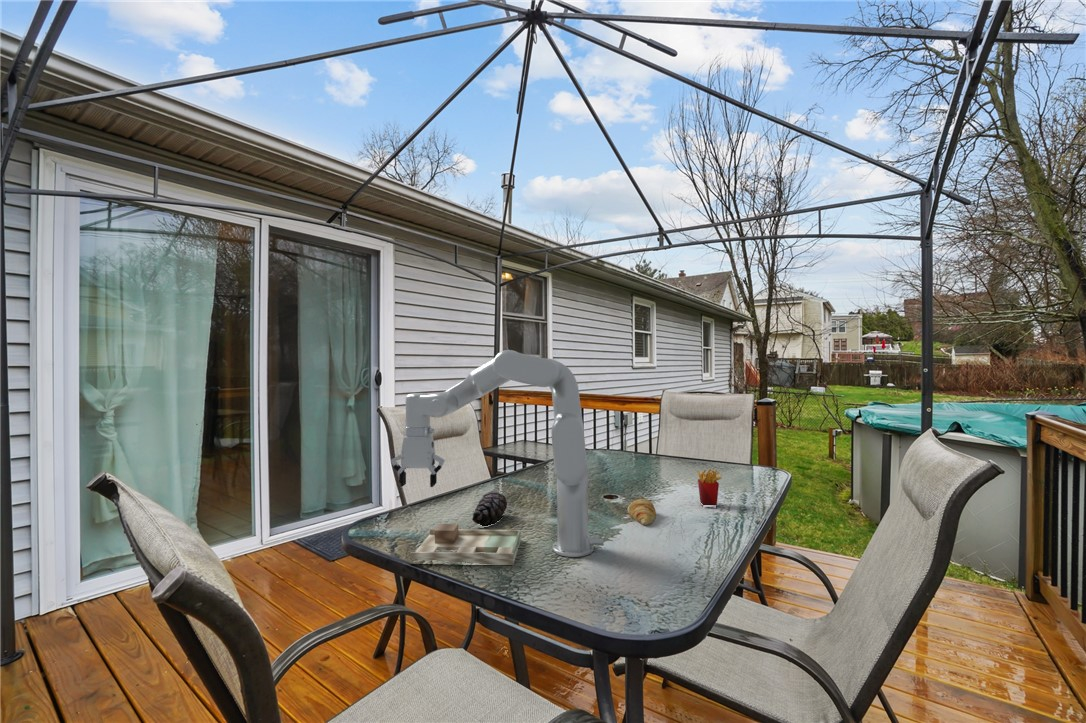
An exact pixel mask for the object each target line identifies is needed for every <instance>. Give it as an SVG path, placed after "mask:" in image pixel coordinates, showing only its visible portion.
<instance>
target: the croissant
mask: <svg viewBox="0 0 1086 723" xmlns="http://www.w3.org/2000/svg"><path fill="white" fill-rule="evenodd" d="M626 509H627V510H626V511H627V514H628V515H629V517H630V518H632V519H633V520H635V521H636V522H637V523H640V524H641V525H643V526H646V525H650V524H651V523H653V522H654V521H655V519H656V518H657V513H656V509H655V506H654V504H653V503H652V502H651V500H648V499H646V498H644V497H642V498H638V499H634V500H633V501H632V502H631V503H630V504H629V505H628V507H627V508H626ZM654 518H655V519H654ZM653 520H654V521H653ZM649 523H650V524H649Z"/></svg>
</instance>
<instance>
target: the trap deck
mask: <svg viewBox="0 0 1086 723" xmlns="http://www.w3.org/2000/svg"><path fill="white" fill-rule="evenodd" d="M435 530H436V528H435V529H431V528H429V535H428V536H427V537H426V538H425V539H424V540H423V542H422V543H421V544H420V545H419V547H418V548H417V549H416V550H415V551H410V552H409V557H410V558H409V560H410V559H417V560H439V561H440V560H441V561H450V562H465V563H466V562H467V563H479V564H494V565H495V564H497V565H513V566H514V565H515V562H516V559H517V555H518V552H519V549H518V548H520V544H521V542H522V538H521V537H522V532H521V531H522V530H521V529H461V528H460V529H459V528H458V532H459V537H458V538H457V540H456V541H455V543H454V544H453V543H435ZM437 549H446V550H458V551H457V552H436V550H437ZM476 552H488V553H476ZM489 552H490V553H489ZM515 558H516V559H515ZM514 561H515V562H514Z"/></svg>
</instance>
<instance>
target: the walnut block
mask: <svg viewBox="0 0 1086 723" xmlns="http://www.w3.org/2000/svg"><path fill="white" fill-rule="evenodd" d="M435 529H436V530H435V543H453V544H454V543H455V541H456V540H457V538H458V537H459V532H458V529H459V523H439V524H438V526H437V527H436V528H435Z"/></svg>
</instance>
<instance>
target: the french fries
mask: <svg viewBox="0 0 1086 723" xmlns="http://www.w3.org/2000/svg"><path fill="white" fill-rule="evenodd" d="M697 474H698V479H697V483H698V484H697V485H698V494H699V502H701V503H702V504H703V505H717V506H718V499H719V498H718V496H719V495H718V494H719V488H720V487H719V486H720V484H719V482H718V481H719V480H721V479H722V476H721V475H719V474H720V471H718V470H717V469H716V470H712V469H711V468H709V469H708V470H707V469H704V470H703V471H699V470H698V471H697ZM717 475H718V476H717ZM701 503H700V504H701Z"/></svg>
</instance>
